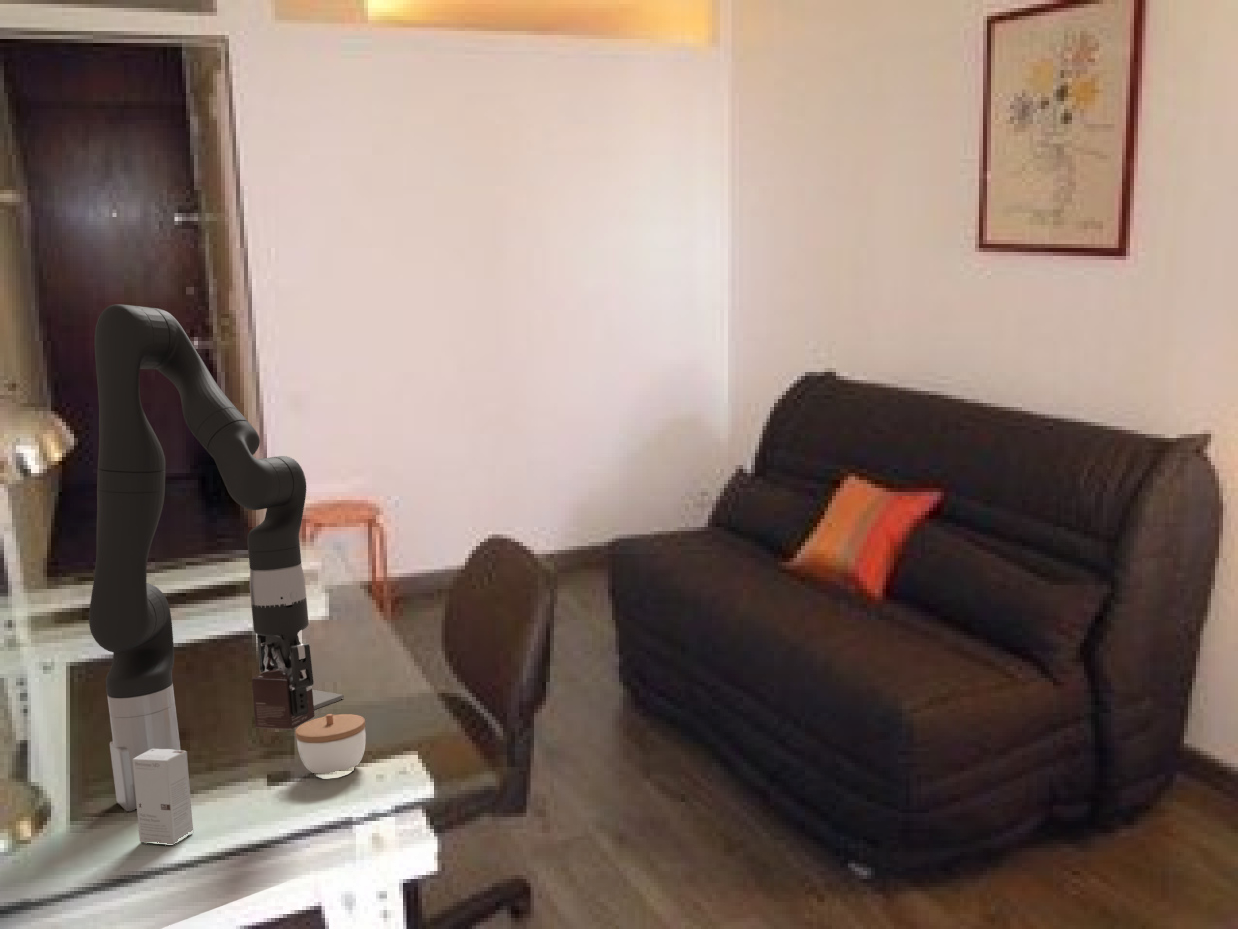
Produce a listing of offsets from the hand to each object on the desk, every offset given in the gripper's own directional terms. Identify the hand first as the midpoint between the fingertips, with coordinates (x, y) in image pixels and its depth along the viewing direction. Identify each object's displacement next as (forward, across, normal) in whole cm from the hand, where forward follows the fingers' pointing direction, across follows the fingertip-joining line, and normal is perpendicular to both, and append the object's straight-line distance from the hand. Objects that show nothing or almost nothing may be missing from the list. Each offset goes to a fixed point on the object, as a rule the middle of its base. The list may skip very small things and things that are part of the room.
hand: (288, 709), depth 152 cm
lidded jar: (+15, -11, +10) cm, 22 cm away
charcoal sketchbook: (+15, -54, +22) cm, 60 cm away
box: (+2, 0, -1) cm, 2 cm away
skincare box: (+16, -6, -16) cm, 24 cm away
